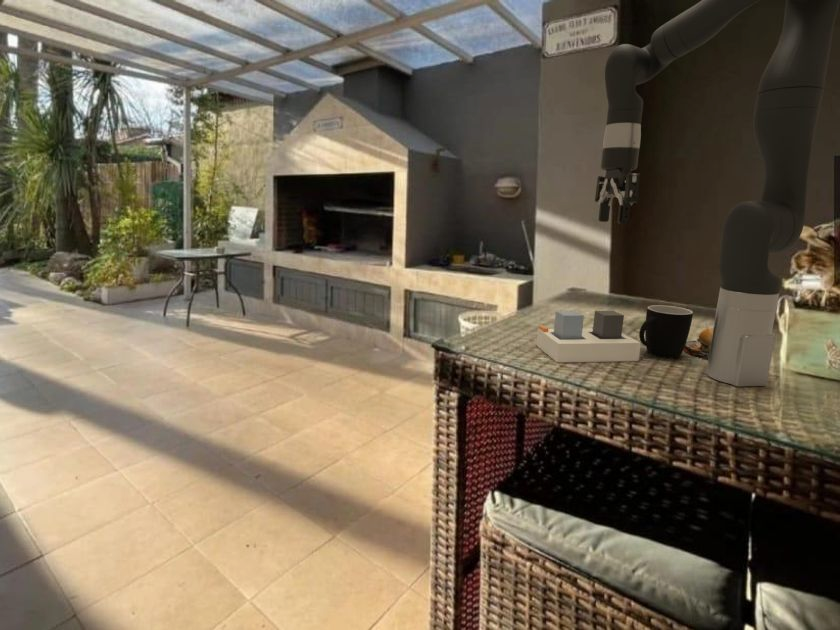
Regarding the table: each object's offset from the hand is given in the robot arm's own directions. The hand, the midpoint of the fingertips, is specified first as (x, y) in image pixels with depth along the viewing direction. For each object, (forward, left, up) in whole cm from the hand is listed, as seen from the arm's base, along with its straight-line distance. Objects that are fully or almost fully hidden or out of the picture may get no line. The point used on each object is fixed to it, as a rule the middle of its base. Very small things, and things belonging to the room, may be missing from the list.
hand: (612, 222), depth 112 cm
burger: (-11, -21, -28) cm, 37 cm away
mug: (-11, -8, -28) cm, 31 cm away
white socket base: (-9, +8, -28) cm, 30 cm away
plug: (-9, +12, -27) cm, 31 cm away
